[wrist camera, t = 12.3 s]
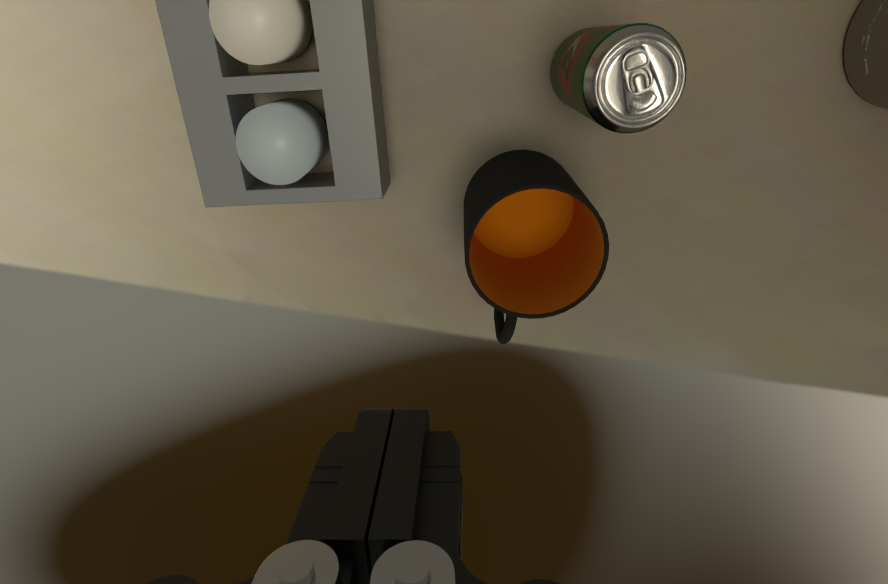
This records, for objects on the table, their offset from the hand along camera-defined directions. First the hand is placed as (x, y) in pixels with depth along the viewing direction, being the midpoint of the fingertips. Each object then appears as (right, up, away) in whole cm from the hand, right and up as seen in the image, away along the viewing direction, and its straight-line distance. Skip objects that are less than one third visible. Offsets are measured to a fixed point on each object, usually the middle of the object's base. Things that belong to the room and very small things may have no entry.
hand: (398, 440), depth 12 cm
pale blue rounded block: (-9, +14, +25) cm, 30 cm away
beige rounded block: (-10, +20, +22) cm, 31 cm away
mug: (+6, +8, +29) cm, 31 cm away
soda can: (+11, +18, +25) cm, 33 cm away
